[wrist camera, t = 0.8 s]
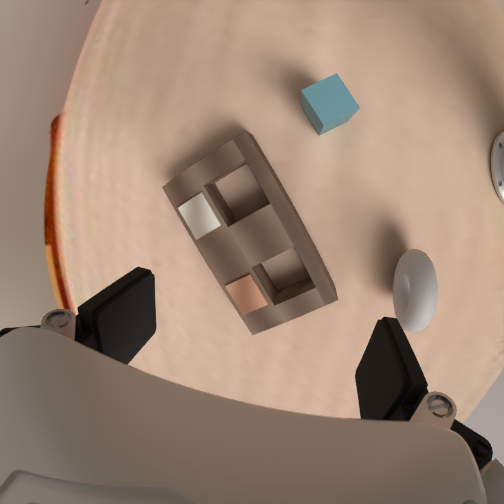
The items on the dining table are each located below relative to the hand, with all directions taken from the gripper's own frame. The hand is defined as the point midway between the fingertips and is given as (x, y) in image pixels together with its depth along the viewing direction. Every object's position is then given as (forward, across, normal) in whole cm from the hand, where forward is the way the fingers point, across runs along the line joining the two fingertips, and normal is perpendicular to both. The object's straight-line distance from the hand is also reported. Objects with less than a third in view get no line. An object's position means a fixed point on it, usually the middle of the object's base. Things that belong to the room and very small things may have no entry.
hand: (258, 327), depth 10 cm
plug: (+24, -2, -13) cm, 28 cm away
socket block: (+24, +4, +3) cm, 25 cm away
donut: (+25, -16, +5) cm, 30 cm away
